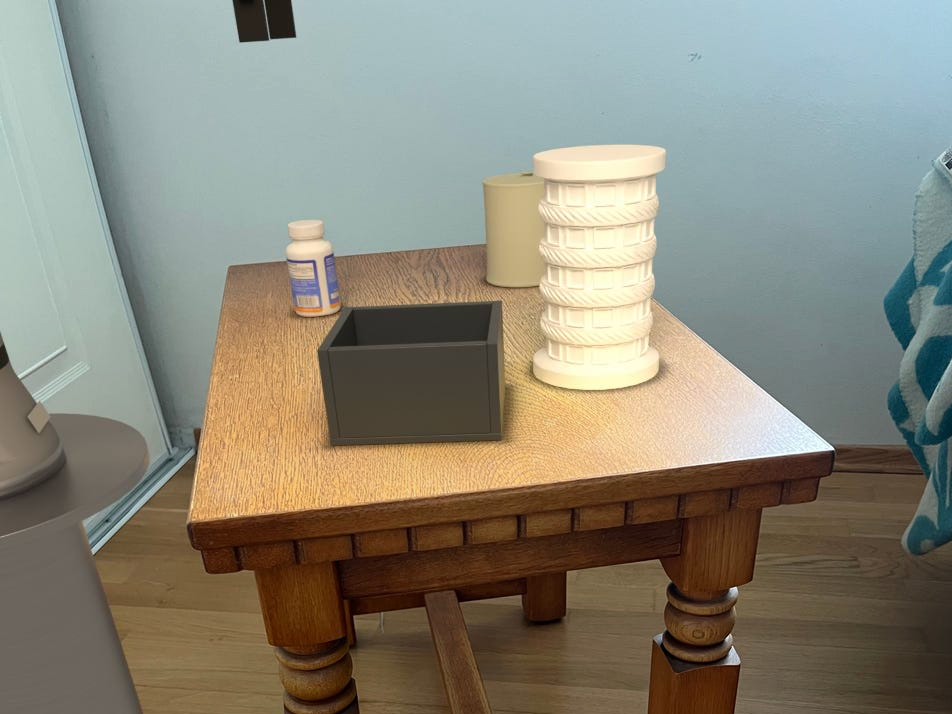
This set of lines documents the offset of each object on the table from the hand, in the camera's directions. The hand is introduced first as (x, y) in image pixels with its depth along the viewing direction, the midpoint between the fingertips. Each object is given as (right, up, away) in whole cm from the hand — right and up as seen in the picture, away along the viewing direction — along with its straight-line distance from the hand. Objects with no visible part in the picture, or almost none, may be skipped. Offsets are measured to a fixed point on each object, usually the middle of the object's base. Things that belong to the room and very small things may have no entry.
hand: (269, 40), depth 94 cm
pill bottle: (+2, -22, +16) cm, 27 cm away
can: (+27, -15, +25) cm, 39 cm away
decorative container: (+32, -35, -7) cm, 48 cm away
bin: (+16, -41, -15) cm, 47 cm away
